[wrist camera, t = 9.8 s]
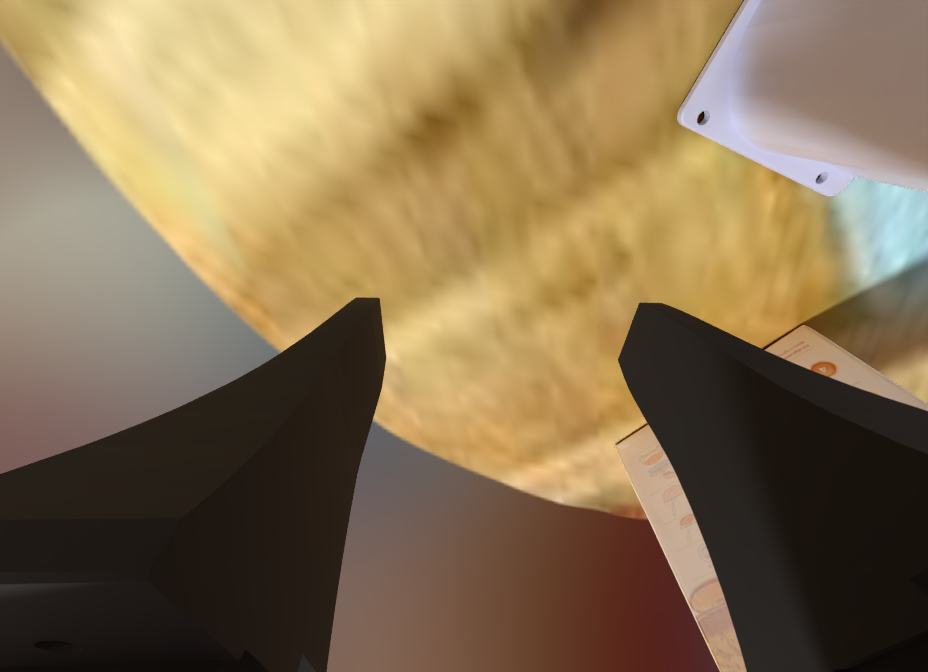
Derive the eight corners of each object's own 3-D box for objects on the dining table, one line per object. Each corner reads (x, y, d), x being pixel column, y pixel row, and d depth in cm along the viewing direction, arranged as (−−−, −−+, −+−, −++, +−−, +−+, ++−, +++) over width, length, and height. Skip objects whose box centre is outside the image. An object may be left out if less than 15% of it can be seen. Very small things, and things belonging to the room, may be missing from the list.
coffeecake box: (660, 475, 31) (886, 887, 15) (609, 444, 28) (820, 908, 12) (846, 371, 24) (1600, 906, 8) (803, 319, 22) (1796, 960, 6)
